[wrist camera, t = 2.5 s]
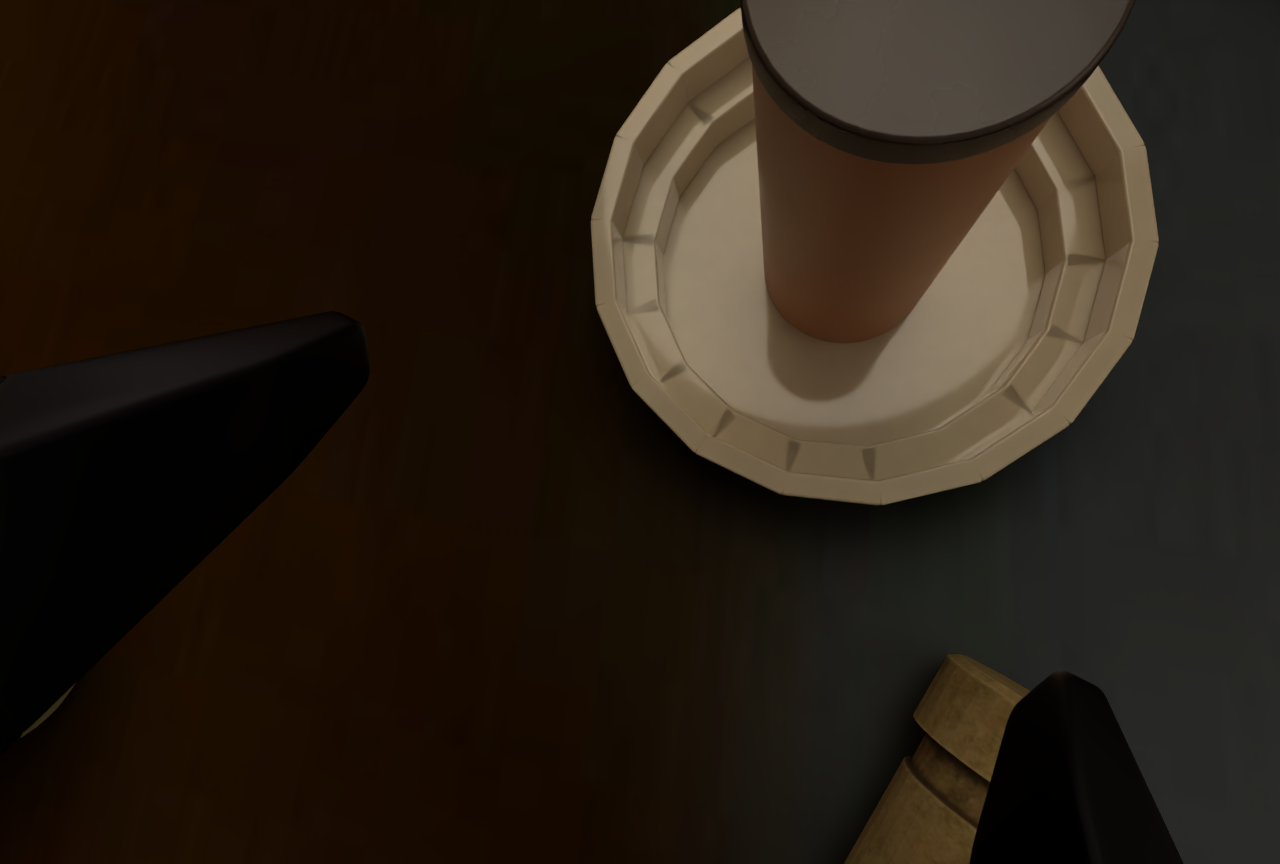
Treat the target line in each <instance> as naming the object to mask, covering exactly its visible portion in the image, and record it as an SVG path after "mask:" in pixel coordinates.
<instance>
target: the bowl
mask: <svg viewBox="0 0 1280 864" xmlns="http://www.w3.org/2000/svg"><path fill="white" fill-rule="evenodd" d="M591 220H592V221H591V238H592V255H593V272H594V289H595V305H596V307H597V312H598V314H599V316H600V318H601V321H602V323H603V325H604V328H605V330H606V332H607V334H608V337H609V339H610V341H611V344H612V346H613V348H614V350H615V353H616V355H617V357H618V359H619V362H620V364H621V366H622V369H623V371H624V373H625V375H626V378H627V380H628V382H629V385H630V386H631V387H632V389H633V391H634V392H635V393H636V394H637V395H638V396H639V397H640V398H641V399H642V400H643V401H644V402H645V403H646V404H647V405H648V406H649V407H650V408H651V409H652V410H653V411H654V412H655V413H656V414H657V415H658V416H659V417H660V418H661V419H662V420H663V421H664V422H665V423H666V425H667V426H668V427H669V428H670V429H671V430H672V431H673V432H674V433H675V434H676V435H677V436H678V437H679V438H680V439H681V440H682V441H683V442H684V443H685V444H686V445H687V446H688V447H689V448H690V449H691V450H692V451H693V452H694V453H696V454H697V455H699V456H701V457H703V458H704V459H706V460H708V461H710V462H712V463H714V464H717V465H719V466H721V467H723V468H725V469H727V470H729V471H731V472H733V473H735V474H737V475H739V476H741V477H743V478H746V479H748V480H750V481H752V482H754V483H756V484H758V485H760V486H762V487H764V488H766V489H768V490H770V491H772V492H775V493H777V494H781V495H782V496H791V497H800V498H809V499H819V500H828V501H837V502H847V503H856V504H865V505H887V504H891V503H895V502H899V501H904V500H908V499H912V498H916V497H921V496H925V495H929V494H933V493H938V492H942V491H946V490H950V489H955V488H959V487H963V486H967V485H972V484H976V483H980V482H982V481H984V480H986V479H988V478H989V477H991V476H992V475H994V474H996V473H997V472H999V471H1000V470H1002V469H1003V468H1005V467H1006V466H1008V465H1009V464H1011V463H1013V462H1014V461H1016V460H1017V459H1019V458H1020V457H1022V456H1023V455H1025V454H1026V453H1028V452H1030V451H1031V450H1033V449H1034V448H1036V447H1037V446H1039V445H1040V444H1042V443H1043V442H1045V441H1047V440H1048V439H1050V438H1051V437H1053V436H1054V435H1056V434H1057V433H1059V432H1060V431H1062V430H1064V429H1065V428H1067V427H1068V426H1069V425H1070V424H1071V423H1073V422H1074V420H1075V419H1076V417H1077V416H1078V415H1079V413H1080V412H1081V411H1082V409H1083V408H1084V407H1085V405H1086V404H1087V403H1088V401H1089V400H1090V399H1091V397H1092V396H1093V395H1094V393H1095V392H1096V391H1097V389H1098V388H1099V386H1100V385H1101V384H1102V382H1103V381H1104V380H1105V378H1106V377H1107V376H1108V374H1109V373H1110V372H1111V370H1112V369H1113V368H1114V366H1115V365H1116V364H1117V362H1118V361H1119V360H1120V358H1121V357H1122V355H1123V354H1124V353H1125V351H1126V350H1127V349H1128V347H1129V346H1130V345H1131V343H1132V340H1133V339H1134V336H1135V332H1136V329H1137V325H1138V321H1139V317H1140V313H1141V310H1142V306H1143V302H1144V298H1145V295H1146V291H1147V287H1148V283H1149V279H1150V276H1151V272H1152V268H1153V264H1154V261H1155V257H1156V253H1157V249H1158V245H1159V244H1158V241H1159V238H1158V231H1157V224H1156V217H1155V210H1154V202H1153V195H1152V188H1151V181H1150V173H1149V166H1148V159H1147V152H1146V147H1145V146H1144V142H1143V140H1142V138H1141V137H1140V135H1139V133H1138V132H1137V130H1136V128H1135V127H1134V125H1133V123H1132V121H1131V120H1130V118H1129V116H1128V115H1127V113H1126V111H1125V110H1124V108H1123V106H1122V105H1121V103H1120V101H1119V99H1118V98H1117V96H1116V94H1115V93H1114V91H1113V89H1112V88H1111V86H1110V84H1109V83H1108V81H1107V79H1106V78H1105V76H1104V74H1103V72H1102V71H1101V69H1100V67H1099V66H1097V68H1096V69H1095V71H1094V72H1093V73H1092V75H1091V76H1090V77H1089V78H1088V80H1087V81H1086V82H1085V83H1084V84H1083V86H1082V87H1081V88H1080V89H1079V90H1078V92H1077V93H1076V94H1075V95H1074V96H1073V97H1072V98H1071V99H1070V100H1069V101H1068V102H1067V103H1066V104H1065V105H1064V106H1063V107H1062V108H1060V109H1059V110H1058V111H1057V112H1056V113H1055V114H1054V115H1052V116H1051V118H1050V119H1049V121H1048V122H1047V123H1046V125H1045V126H1044V128H1043V129H1042V130H1041V132H1040V133H1039V134H1038V136H1037V137H1036V139H1035V140H1034V141H1033V143H1032V144H1031V146H1030V147H1029V148H1028V150H1027V151H1026V153H1025V154H1024V155H1023V157H1022V158H1021V160H1020V161H1019V162H1018V164H1017V165H1016V167H1015V168H1014V169H1013V171H1012V172H1011V174H1010V175H1009V176H1008V178H1007V179H1006V180H1005V182H1004V183H1003V185H1002V186H1001V187H1000V189H999V190H998V192H997V193H996V194H995V196H994V197H993V199H992V200H991V201H990V203H989V204H988V206H987V207H986V208H985V210H984V211H983V213H982V214H981V215H980V217H979V218H978V220H977V221H976V222H975V224H974V225H973V226H972V228H971V229H970V231H969V232H968V233H967V235H966V236H965V238H964V239H963V240H962V242H961V243H960V245H959V246H958V247H957V249H956V250H955V252H954V253H953V254H952V256H951V257H950V259H949V260H948V261H947V263H946V264H945V266H944V267H943V268H942V270H941V271H940V272H939V274H938V275H937V277H936V278H935V279H934V281H933V282H932V284H931V285H930V286H929V288H928V289H927V291H926V292H925V293H924V295H923V296H922V298H921V299H920V300H919V302H918V303H917V305H916V306H915V307H914V309H913V310H912V311H911V312H910V313H909V315H908V316H907V317H906V318H905V319H904V320H903V321H901V322H900V323H899V324H898V325H897V326H895V327H894V328H892V329H891V330H889V331H887V332H886V333H884V334H882V335H880V336H877V337H875V338H872V339H869V340H865V341H861V342H854V343H834V342H827V341H823V340H819V339H816V338H813V337H811V336H808V335H806V334H804V333H803V332H801V331H799V330H798V329H796V328H795V327H794V326H792V325H791V324H790V323H789V322H788V321H787V320H786V319H785V318H784V317H783V316H782V315H781V314H780V313H779V311H778V310H777V309H776V307H775V305H774V303H773V302H772V300H771V298H770V295H769V293H768V290H767V286H766V282H765V274H764V260H763V243H762V226H761V210H760V193H759V176H758V160H757V143H756V126H755V109H754V93H753V76H752V62H751V60H750V57H749V54H748V50H747V46H746V42H745V38H744V34H743V24H742V15H741V8H738V9H737V10H736V11H734V12H733V13H732V14H730V15H729V16H728V17H726V18H725V19H724V20H722V21H721V22H720V23H718V24H717V25H716V26H714V27H713V28H712V29H710V30H709V31H708V32H706V33H705V34H704V35H702V36H701V37H700V38H698V39H697V40H696V41H694V42H693V43H692V44H690V45H689V46H688V47H686V48H685V49H684V50H682V51H681V52H680V53H678V54H677V55H676V56H674V57H673V58H672V59H670V60H669V61H668V63H666V64H665V66H664V67H663V68H662V70H661V71H660V73H659V74H658V76H657V77H656V78H655V80H654V81H653V83H652V84H651V86H650V87H649V88H648V90H647V91H646V93H645V94H644V95H643V97H642V98H641V100H640V101H639V103H638V104H637V105H636V107H635V108H634V110H633V111H632V113H631V114H630V115H629V117H628V118H627V120H626V121H625V123H624V124H623V125H622V127H621V128H620V130H619V131H618V132H617V134H616V137H615V138H614V141H613V145H612V148H611V152H610V155H609V158H608V162H607V165H606V169H605V172H604V175H603V179H602V182H601V186H600V189H599V193H598V196H597V199H596V203H595V206H594V210H593V213H592V216H591Z"/></svg>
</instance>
